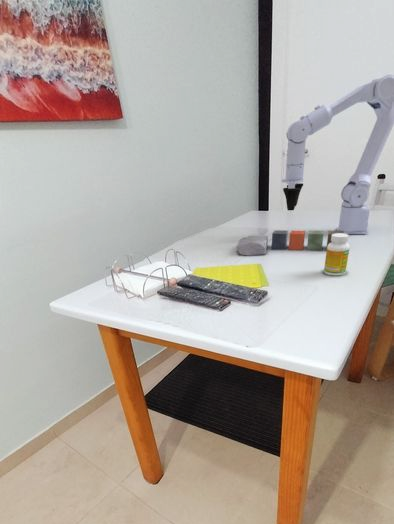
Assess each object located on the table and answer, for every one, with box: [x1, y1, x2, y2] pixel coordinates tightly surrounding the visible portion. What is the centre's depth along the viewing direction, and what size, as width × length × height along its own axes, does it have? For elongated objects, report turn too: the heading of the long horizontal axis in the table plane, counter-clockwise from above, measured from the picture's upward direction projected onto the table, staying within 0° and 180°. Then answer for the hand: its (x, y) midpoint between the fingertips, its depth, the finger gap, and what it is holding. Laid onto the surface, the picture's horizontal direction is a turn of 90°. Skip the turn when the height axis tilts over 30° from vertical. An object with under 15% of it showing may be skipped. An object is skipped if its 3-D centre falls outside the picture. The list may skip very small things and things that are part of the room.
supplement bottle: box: [323, 233, 351, 277], centre depth 87 cm, size 5×5×10 cm
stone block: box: [236, 234, 269, 257], centre depth 111 cm, size 12×5×10 cm
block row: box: [271, 229, 344, 251], centre depth 108 cm, size 21×4×5 cm, turn 70°
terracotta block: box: [288, 230, 306, 251], centre depth 109 cm, size 4×4×5 cm
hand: (292, 208), depth 119 cm, fingers open, 7 cm apart
